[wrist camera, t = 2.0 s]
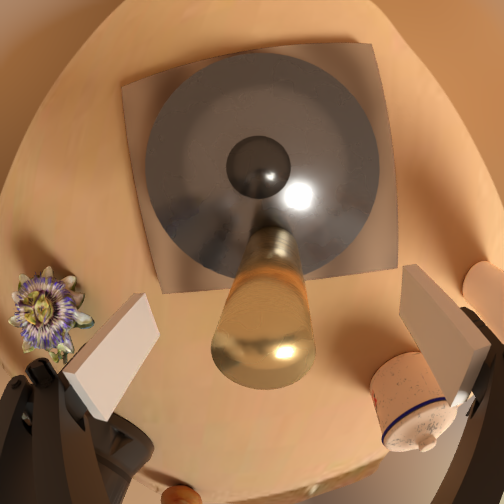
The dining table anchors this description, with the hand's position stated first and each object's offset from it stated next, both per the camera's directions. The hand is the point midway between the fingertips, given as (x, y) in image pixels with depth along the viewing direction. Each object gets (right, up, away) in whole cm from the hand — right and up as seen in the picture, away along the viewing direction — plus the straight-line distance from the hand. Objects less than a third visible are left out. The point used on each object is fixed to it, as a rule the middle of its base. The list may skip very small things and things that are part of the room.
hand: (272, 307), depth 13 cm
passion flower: (-25, -4, +17) cm, 30 cm away
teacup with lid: (+19, -14, +16) cm, 28 cm away
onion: (-17, -53, +33) cm, 65 cm away
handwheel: (0, +9, +8) cm, 12 cm away
